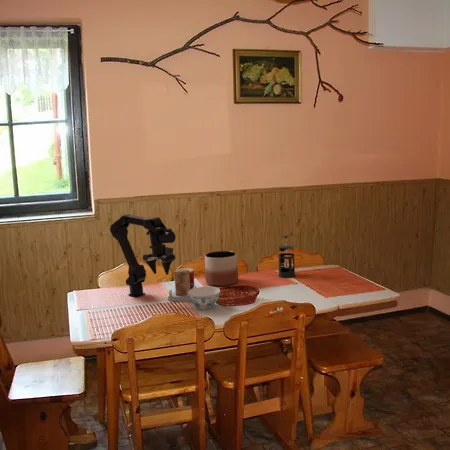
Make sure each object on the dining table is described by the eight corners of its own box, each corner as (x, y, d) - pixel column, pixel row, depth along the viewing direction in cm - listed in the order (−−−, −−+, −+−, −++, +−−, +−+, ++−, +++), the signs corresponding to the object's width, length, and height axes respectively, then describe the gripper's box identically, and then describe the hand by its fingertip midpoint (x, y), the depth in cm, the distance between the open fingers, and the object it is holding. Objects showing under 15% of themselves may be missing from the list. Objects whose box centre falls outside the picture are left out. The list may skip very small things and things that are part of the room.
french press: (299, 276, 306) (298, 236, 302) (283, 279, 303) (282, 237, 299) (289, 272, 317) (288, 232, 313) (274, 274, 314) (273, 234, 310)
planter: (214, 276, 314) (213, 249, 311) (243, 279, 306) (242, 251, 304) (200, 285, 298) (198, 257, 295) (230, 288, 291) (228, 259, 288)
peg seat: (168, 300, 274) (167, 290, 274) (176, 294, 284) (175, 285, 283) (190, 301, 271) (190, 292, 270) (198, 295, 280) (197, 286, 279)
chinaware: (224, 309, 257) (224, 293, 256) (193, 313, 253) (192, 297, 252) (216, 300, 272) (215, 285, 270) (186, 304, 268) (185, 288, 266)
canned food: (192, 292, 285) (191, 272, 284) (177, 292, 287) (176, 271, 285) (196, 288, 293) (195, 268, 291) (181, 288, 294) (180, 268, 293)
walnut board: (175, 295, 276) (174, 271, 274) (179, 292, 280) (177, 269, 278) (187, 295, 274) (185, 272, 272) (190, 293, 278) (189, 270, 276)
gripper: (181, 240, 271) (185, 271, 273) (157, 239, 284) (161, 269, 286) (164, 244, 263) (168, 276, 265) (140, 244, 276) (144, 274, 278)
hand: (161, 274), depth 273 cm, fingers open, 9 cm apart
